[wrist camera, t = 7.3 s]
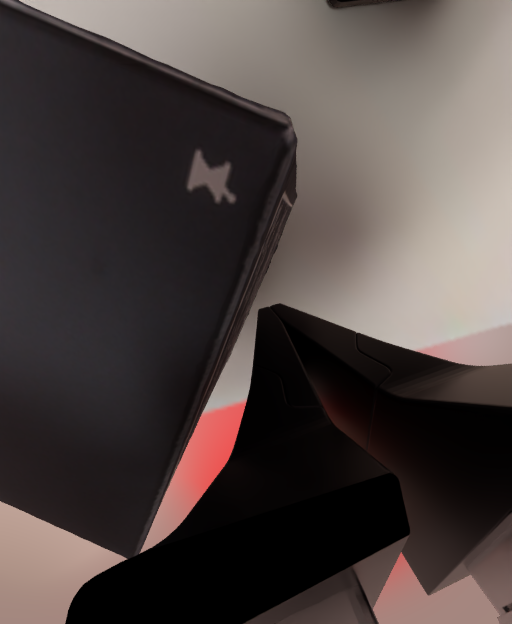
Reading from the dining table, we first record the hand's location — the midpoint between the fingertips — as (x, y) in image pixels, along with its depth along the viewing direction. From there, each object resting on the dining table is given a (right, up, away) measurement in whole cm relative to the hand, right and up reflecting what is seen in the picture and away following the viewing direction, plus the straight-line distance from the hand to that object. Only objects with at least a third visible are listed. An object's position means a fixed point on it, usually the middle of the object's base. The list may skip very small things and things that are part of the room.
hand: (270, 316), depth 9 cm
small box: (-3, +3, +5) cm, 7 cm away
